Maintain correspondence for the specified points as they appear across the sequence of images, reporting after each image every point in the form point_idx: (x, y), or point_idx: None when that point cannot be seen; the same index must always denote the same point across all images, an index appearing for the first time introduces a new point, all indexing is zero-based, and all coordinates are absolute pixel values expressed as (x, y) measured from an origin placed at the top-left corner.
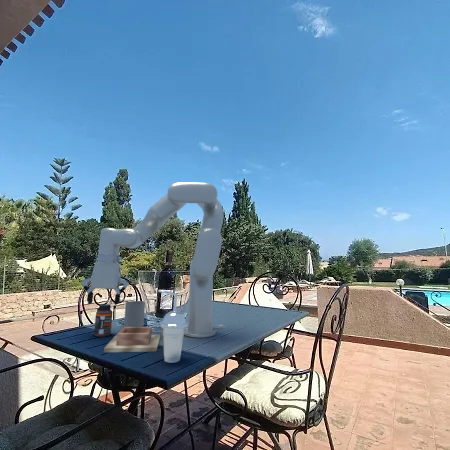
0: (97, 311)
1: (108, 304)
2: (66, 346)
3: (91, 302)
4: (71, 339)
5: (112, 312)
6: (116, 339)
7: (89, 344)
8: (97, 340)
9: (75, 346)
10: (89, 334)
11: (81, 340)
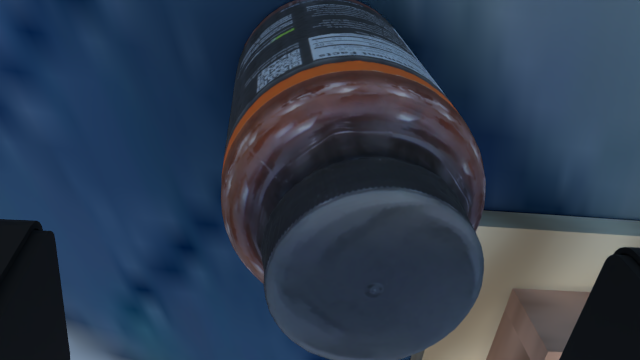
0: (251, 267)
1: (444, 250)
2: (120, 350)
3: (55, 293)
4: (66, 188)
5: (483, 188)
6: (461, 337)
7: (268, 326)
8: None
9: (184, 355)
10: (174, 19)
11: (171, 227)
